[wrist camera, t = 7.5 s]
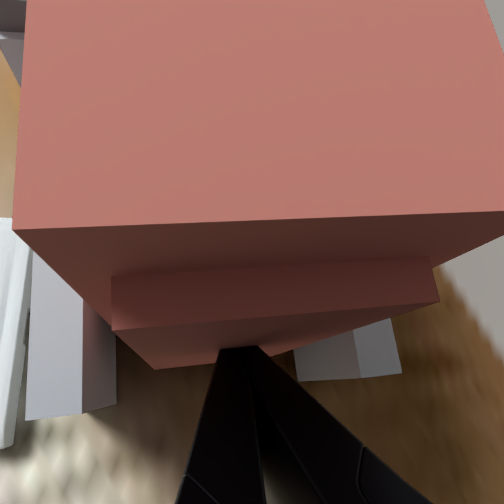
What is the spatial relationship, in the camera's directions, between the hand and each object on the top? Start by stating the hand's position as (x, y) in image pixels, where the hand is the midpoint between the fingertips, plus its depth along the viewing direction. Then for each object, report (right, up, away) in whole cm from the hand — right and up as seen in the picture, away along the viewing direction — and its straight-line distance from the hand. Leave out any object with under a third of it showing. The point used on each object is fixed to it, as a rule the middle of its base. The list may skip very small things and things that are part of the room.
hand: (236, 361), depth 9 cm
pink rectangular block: (-2, +1, +8) cm, 8 cm away
